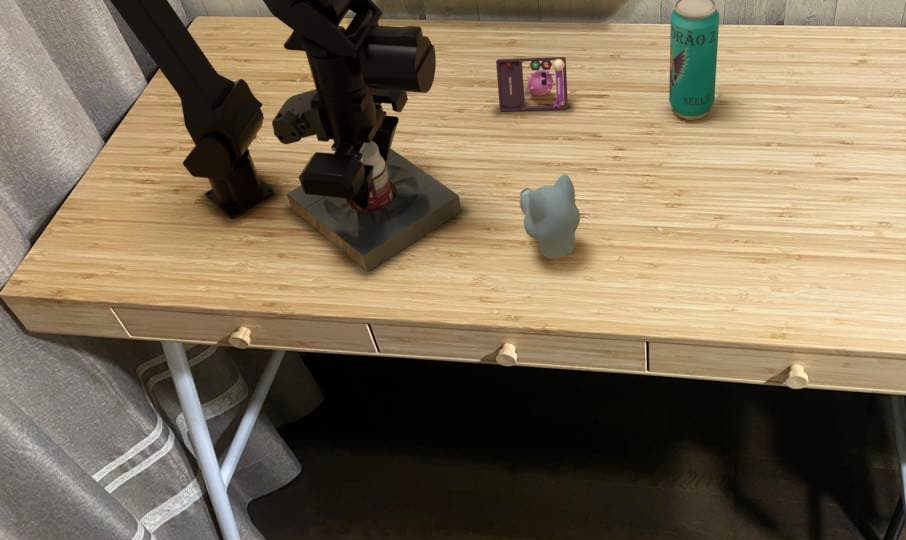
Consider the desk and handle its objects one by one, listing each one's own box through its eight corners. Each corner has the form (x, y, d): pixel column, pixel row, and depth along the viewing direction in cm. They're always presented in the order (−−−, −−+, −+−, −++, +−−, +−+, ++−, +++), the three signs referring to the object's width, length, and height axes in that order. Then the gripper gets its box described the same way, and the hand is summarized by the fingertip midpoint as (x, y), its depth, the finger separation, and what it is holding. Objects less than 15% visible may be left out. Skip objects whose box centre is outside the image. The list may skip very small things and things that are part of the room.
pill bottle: (347, 212, 121) (331, 156, 115) (370, 188, 124) (355, 133, 117) (379, 223, 119) (365, 167, 113) (402, 198, 122) (389, 143, 116)
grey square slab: (461, 211, 121) (458, 195, 119) (367, 272, 115) (363, 256, 113) (382, 155, 129) (378, 139, 127) (291, 209, 123) (285, 193, 122)
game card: (495, 61, 130) (565, 58, 129) (499, 51, 134) (567, 49, 133) (499, 112, 133) (567, 110, 132) (503, 101, 137) (569, 99, 136)
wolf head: (549, 214, 119) (542, 146, 112) (592, 254, 114) (588, 186, 106) (505, 236, 117) (495, 168, 110) (546, 278, 112) (539, 210, 104)
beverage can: (662, 102, 132) (663, -2, 121) (702, 92, 133) (707, -13, 122) (679, 127, 128) (682, 22, 117) (721, 116, 129) (727, 10, 118)
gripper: (306, 29, 116) (336, 138, 128) (236, 127, 104) (277, 238, 116) (396, 35, 114) (419, 146, 125) (336, 137, 102) (367, 249, 113)
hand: (370, 192), depth 120 cm, fingers closed on pill bottle, 5 cm apart
